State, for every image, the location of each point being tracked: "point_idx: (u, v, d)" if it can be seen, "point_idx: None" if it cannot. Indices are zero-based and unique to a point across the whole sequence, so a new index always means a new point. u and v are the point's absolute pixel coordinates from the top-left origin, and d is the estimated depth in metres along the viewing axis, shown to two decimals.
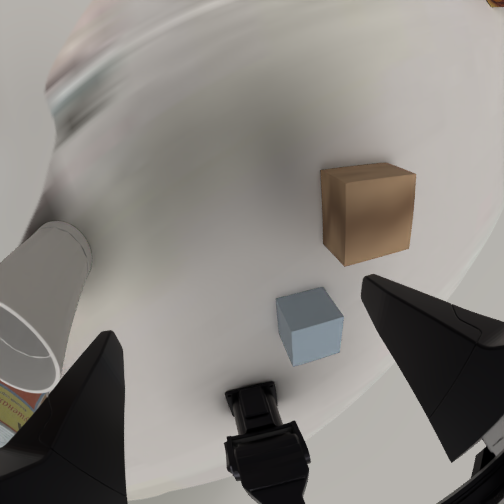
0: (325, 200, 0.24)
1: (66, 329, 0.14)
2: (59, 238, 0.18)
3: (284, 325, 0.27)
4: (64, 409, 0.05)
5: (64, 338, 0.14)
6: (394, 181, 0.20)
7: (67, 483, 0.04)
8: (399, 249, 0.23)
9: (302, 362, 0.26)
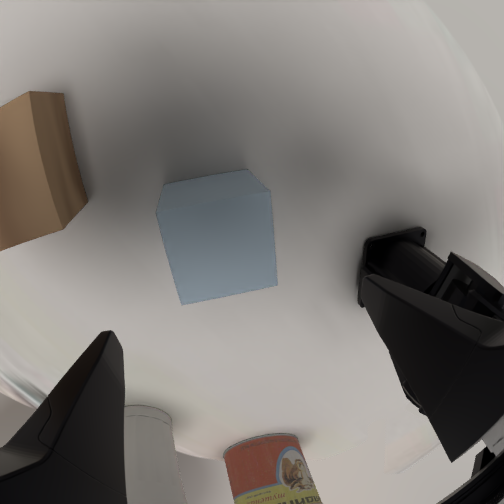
0: None
1: (142, 483, 0.17)
2: None
3: None
4: (64, 409, 0.05)
5: (143, 490, 0.16)
6: None
7: (67, 483, 0.04)
8: (29, 116, 0.09)
9: (271, 269, 0.14)
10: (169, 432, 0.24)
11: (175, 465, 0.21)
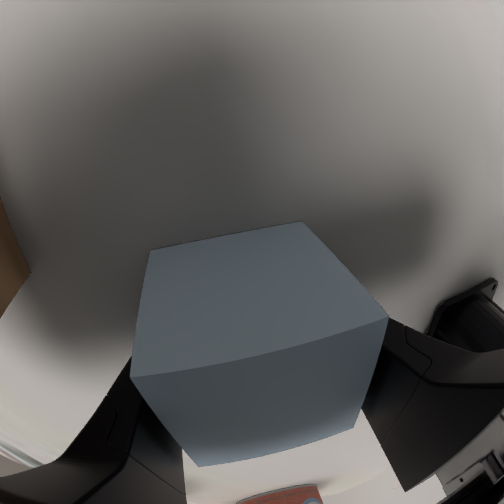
0: None
1: None
2: None
3: None
4: (132, 407, 0.05)
5: None
6: None
7: (141, 489, 0.04)
8: None
9: (350, 417, 0.07)
10: None
11: None
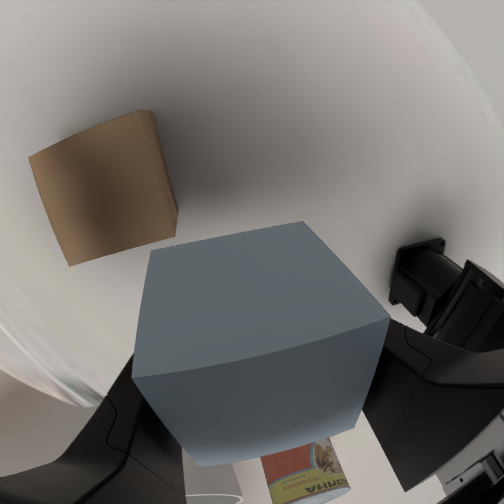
0: None
1: (202, 469, 0.20)
2: None
3: None
4: (132, 407, 0.05)
5: (204, 475, 0.20)
6: (45, 194, 0.13)
7: (142, 489, 0.04)
8: (141, 133, 0.13)
9: (351, 417, 0.07)
10: None
11: None
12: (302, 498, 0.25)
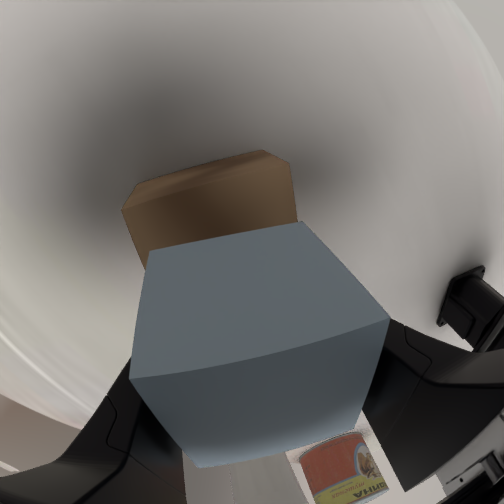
0: None
1: (279, 493, 0.20)
2: None
3: None
4: (132, 407, 0.05)
5: (282, 499, 0.19)
6: None
7: (142, 489, 0.04)
8: (288, 191, 0.12)
9: (350, 418, 0.07)
10: None
11: (293, 472, 0.24)
12: (351, 503, 0.25)
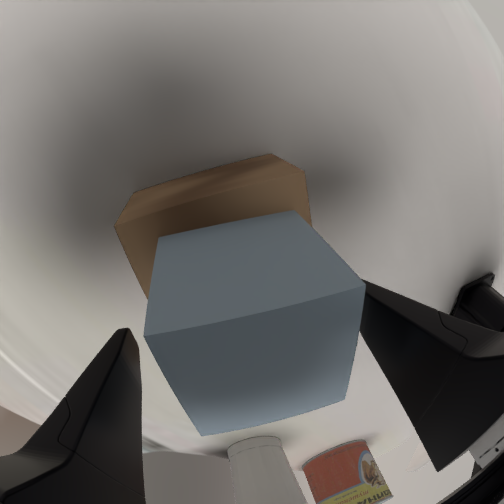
0: None
1: None
2: (236, 466, 0.24)
3: None
4: (84, 409, 0.05)
5: None
6: (148, 278, 0.11)
7: (89, 486, 0.04)
8: (303, 203, 0.10)
9: (340, 386, 0.08)
10: (285, 455, 0.26)
11: (297, 483, 0.23)
12: None
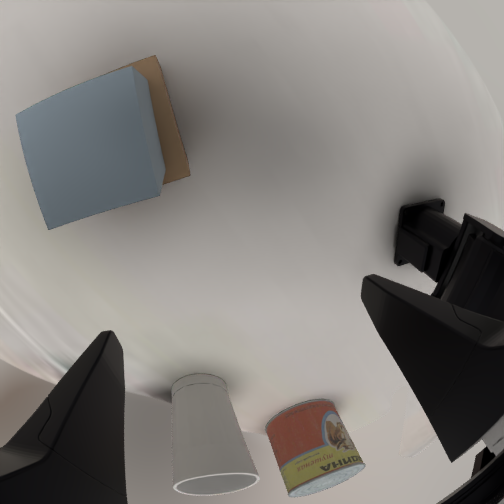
0: None
1: (215, 446, 0.20)
2: (175, 404, 0.26)
3: None
4: (64, 409, 0.05)
5: (217, 453, 0.20)
6: None
7: (67, 483, 0.04)
8: (156, 76, 0.12)
9: (145, 172, 0.10)
10: (228, 398, 0.28)
11: (239, 428, 0.24)
12: (317, 477, 0.26)
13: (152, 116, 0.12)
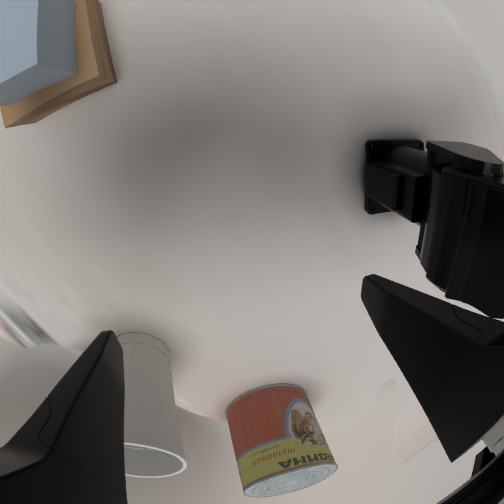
0: (57, 108, 0.14)
1: (130, 411, 0.17)
2: None
3: (2, 97, 0.08)
4: (64, 409, 0.05)
5: (131, 419, 0.16)
6: None
7: (67, 483, 0.04)
8: None
9: (31, 46, 0.06)
10: (167, 364, 0.24)
11: (171, 398, 0.21)
12: (274, 475, 0.22)
13: (69, 26, 0.09)
